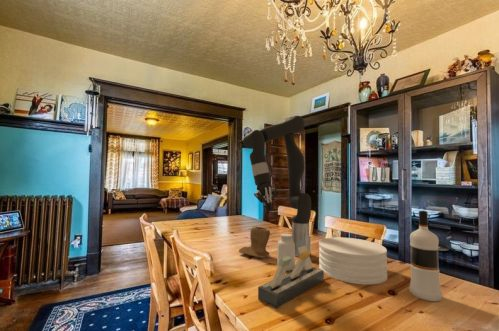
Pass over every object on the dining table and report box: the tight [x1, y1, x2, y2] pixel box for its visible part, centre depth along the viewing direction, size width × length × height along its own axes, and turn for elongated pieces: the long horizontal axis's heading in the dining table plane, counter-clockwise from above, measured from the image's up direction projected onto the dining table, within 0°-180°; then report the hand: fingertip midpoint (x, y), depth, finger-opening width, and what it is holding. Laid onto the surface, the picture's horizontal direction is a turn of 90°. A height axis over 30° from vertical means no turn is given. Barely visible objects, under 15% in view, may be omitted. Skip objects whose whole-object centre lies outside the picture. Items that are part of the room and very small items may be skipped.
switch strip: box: [257, 266, 325, 309], centre depth 87 cm, size 8×30×4 cm, turn 134°
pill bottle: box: [276, 233, 296, 272], centre depth 109 cm, size 8×8×15 cm
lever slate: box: [296, 240, 314, 271], centre depth 97 cm, size 1×4×12 cm, turn 135°
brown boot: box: [238, 225, 271, 259], centre depth 126 cm, size 15×12×15 cm
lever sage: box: [270, 256, 292, 289], centre depth 79 cm, size 1×4×12 cm, turn 134°
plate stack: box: [318, 236, 388, 285], centre depth 106 cm, size 28×28×12 cm
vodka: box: [408, 210, 443, 303], centre depth 84 cm, size 9×9×30 cm
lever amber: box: [289, 250, 312, 280], centre depth 86 cm, size 1×4×12 cm, turn 134°
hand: (269, 211), depth 105 cm, fingers closed
